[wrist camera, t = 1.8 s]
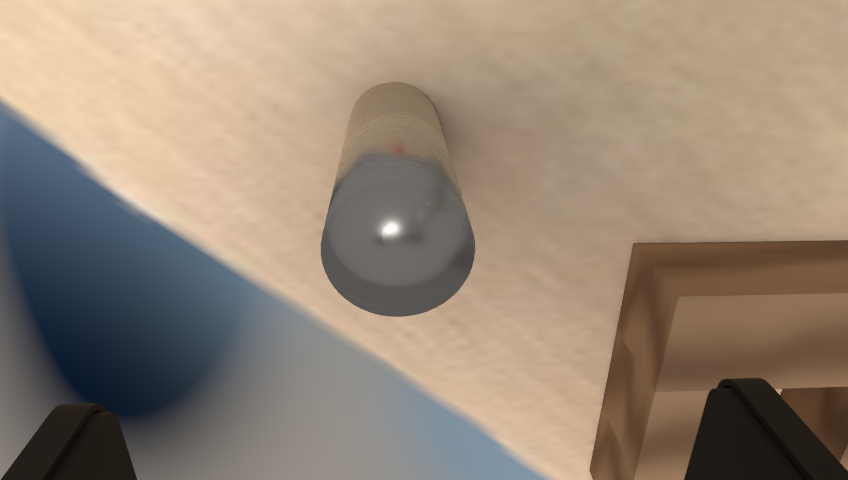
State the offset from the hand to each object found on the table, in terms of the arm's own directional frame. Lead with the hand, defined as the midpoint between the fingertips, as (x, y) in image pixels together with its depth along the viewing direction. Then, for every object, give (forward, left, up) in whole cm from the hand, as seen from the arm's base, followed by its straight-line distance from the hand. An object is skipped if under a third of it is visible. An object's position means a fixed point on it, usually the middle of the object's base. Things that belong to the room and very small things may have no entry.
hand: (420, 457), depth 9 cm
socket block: (+14, +20, -19) cm, 30 cm away
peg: (0, 0, -19) cm, 19 cm away
